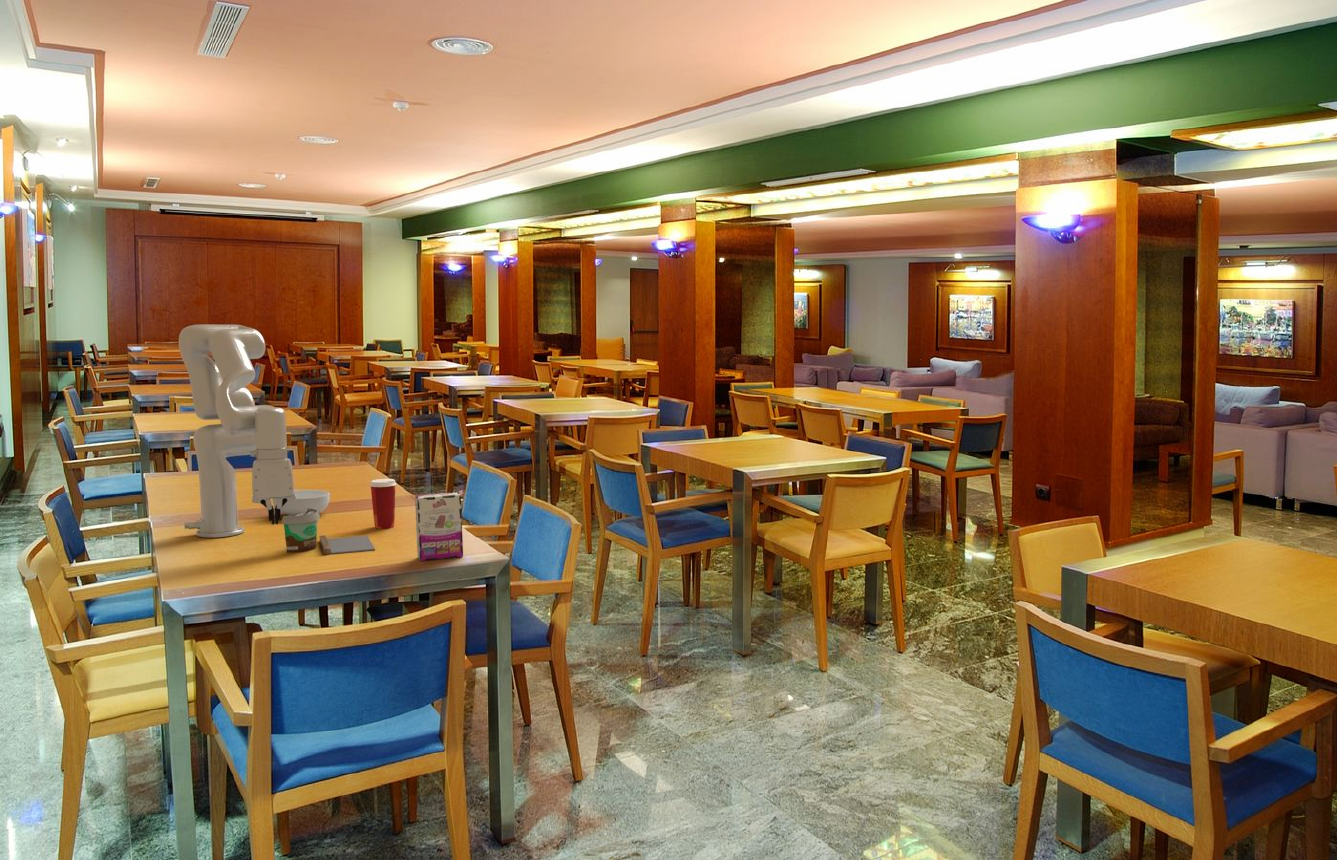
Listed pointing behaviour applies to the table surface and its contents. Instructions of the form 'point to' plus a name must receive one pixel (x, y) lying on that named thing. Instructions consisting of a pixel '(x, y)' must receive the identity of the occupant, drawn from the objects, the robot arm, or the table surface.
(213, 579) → the table surface
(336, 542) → the mat
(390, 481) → the paper cup
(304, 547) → the food container
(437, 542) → the candy bar box
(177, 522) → the table surface
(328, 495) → the cereal bowl
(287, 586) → the table surface
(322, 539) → the rail
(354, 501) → the table surface
